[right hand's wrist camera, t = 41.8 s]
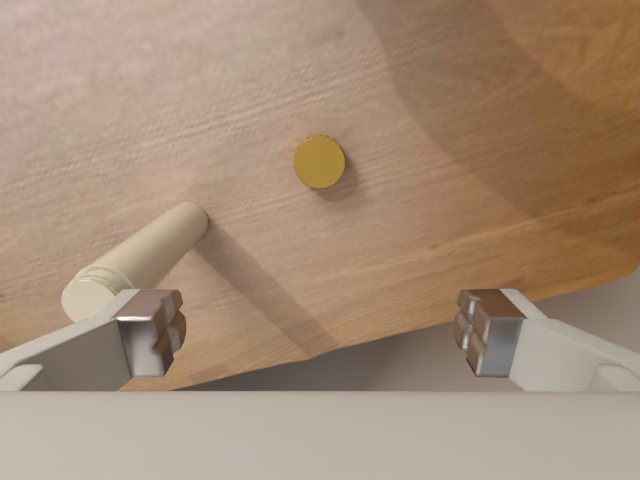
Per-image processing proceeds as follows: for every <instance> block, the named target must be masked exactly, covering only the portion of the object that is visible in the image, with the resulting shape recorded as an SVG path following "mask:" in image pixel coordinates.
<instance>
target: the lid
mask: <svg viewBox="0 0 640 480" xmlns="http://www.w3.org/2000/svg"><path fill="white" fill-rule="evenodd" d="M294 155H295V157H294V161H293V162H294V169H295V172H296V175H297V176H298V178H299V179H300V180H301V181H302V182H303V183H304V184H306V185H307V186H309V187H312V188H318V189H322V188H327V187H329V186H332V185H333V184H335V183H336V182H337V181H338V180H339V179H340V177H341V176H342V174H343V171H344V168H345V156H344V154H343V150H342V149H341V148H340V146H339V143H338V144H337V143H336V142H335V141H334V139H331V138H329V137H328V136H327V137H326V136H321V135H319V136H315V135H314V136H313V137H310V138H307V139H306V140H305V141H302V143H301V145H300V146H299V147H298V148H297V151H296V153H295V154H294Z"/></svg>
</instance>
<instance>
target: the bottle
mask: <svg viewBox="0 0 640 480" xmlns="http://www.w3.org/2000/svg"><path fill="white" fill-rule="evenodd" d="M207 228H208V217H207V215H206V213H205V212H204V210H203V209H202V208H201V207H200V206H198V205H197V204H194V203H192V202H180V203H178V204H176V205H174V206H173V207H172V208H170V209H169V210H167V211H166V212H164V213H163V214H161V215H160V216H158V217H157V218H156V219H154V220H153V221H151V222H150V223H148V224H147V225H145V226H144V227H143V228H141V229H140V230H138V231H137V232H135V233H134V234H132V235H131V236H129V237H128V238H127V239H125V240H124V241H122V242H121V243H119V244H118V245H116V246H115V247H113V248H112V249H111V250H109V251H108V252H106V253H105V254H103V255H102V256H100V257H99V258H98V259H96V260H95V261H93V262H92V263H90V264H89V265H87V266H86V267H84V268H83V269H82V270H80V271H79V272H78V273H77V274H76V275H75V277H74V279H73V280H72V281H71V282H70V283H69V284H68V285H67V287H66V288H65V289H64V291H63V293H62V297H61V302H62V307H63V309H64V311H65V313H66V315H67V316H68V317H69V318H70V319H71V320H72V321H73V322H74V323H77V322H79V321H81V320H84V319H91V318H92V317H94V316H95V315H96V314H97V313H98V312H99V311H100V310H101V309H102V308H103V307H104V306H106V305H107V304H108V303H109V302H110V301H111V300H112V299H113V298H114V297H115V296H116V295H118V294H119V293H120V292H121V291H122V290H124V289H155V288H156V287H157V286H158V285H159V283H160V282H161V281H162V280H163V279H164V278H165V277H166V276H167V275H168V273H169V272H170V271H171V270H172V269H173V268H174V267H175V266H176V265H177V263H178V262H179V261H180V260H181V259H182V258H183V257H184V256H185V255H186V253H187V252H188V251H189V250H190V249H191V248H192V247H193V246H194V245H195V243H196V242H197V241H198V240H199V239H200V238H201V237H202V236H203V235H204V233H205V232H206V231H207Z"/></svg>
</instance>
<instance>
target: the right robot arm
mask: <svg viewBox="0 0 640 480" xmlns="http://www.w3.org/2000/svg"><path fill="white" fill-rule="evenodd" d="M182 304H183V301H182V296H181V293H180V292H179V291H178V290H167V289H124V290H122V291H121V292H120V293H119V294H118V295H116V296H115V297H114V298H113V299H112V300H111V301H110V302H109V303H108V304H107V305H106V306H104V307H103V308H102V309H101V310H100V311H99V312H98V313H97V314H96V315H95V316H94V317H92V318H91V319H84V320H81V321H79V322H77V323H74V324H72V325H69V326H67V327H64V328H62V329H59V330H57V331H54V332H52V333H49V334H47V335H45V336H42V337H40V338H37V339H35V340H32V341H30V342H27V343H25V344H22V345H20V346H17V347H15V348H13V349H10V350H8V351H5V352H3V353H0V480H640V353H637V352H635V351H632V350H630V349H627V348H625V347H622V346H620V345H617V344H615V343H613V342H610V341H608V340H605V339H603V338H600V337H598V336H595V335H593V334H590V333H588V332H586V331H583V330H581V329H578V328H576V327H573V326H571V325H568V324H566V323H563V322H561V321H559V320H556V319H549V318H548V317H546V316H545V315H544V314H543V313H542V312H541V311H540V310H539V309H538V308H537V307H536V306H534V305H533V304H532V303H531V302H530V301H529V300H528V299H527V298H526V297H525V296H524V295H523V294H521V293H520V292H519V291H518V290H516V289H479V290H461V291H460V293H459V295H458V301H457V304H458V306H459V307H460V309H461V311H460V312H459V313H458V314H457V315H456V316H455V319H454V336H455V339H456V342H457V344H458V346H459V348H460V349H461V350H463V351H464V352H466V353H467V358H466V360H467V362H468V364H469V365H470V367H471V369H472V371H473V372H474V374H475V376H476V377H496V378H509V380H510V381H512V382H513V383H514V384H516V385H517V386H518V387H520V388H521V389H522V390H523V391H117V390H118V389H119V388H121V387H122V386H123V385H125V384H126V383H127V382H129V381H130V380H131V378H144V377H164V376H165V374H166V372H167V371H168V369H169V367H170V365H171V364H172V362H173V360H174V358H173V353H174V352H176V351H177V350H179V349H180V348H181V346H182V344H183V343H184V339H185V335H186V319H185V316H184V315H183V314H182V313H181V312H180V311H179V309H180V307H181V306H182Z"/></svg>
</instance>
